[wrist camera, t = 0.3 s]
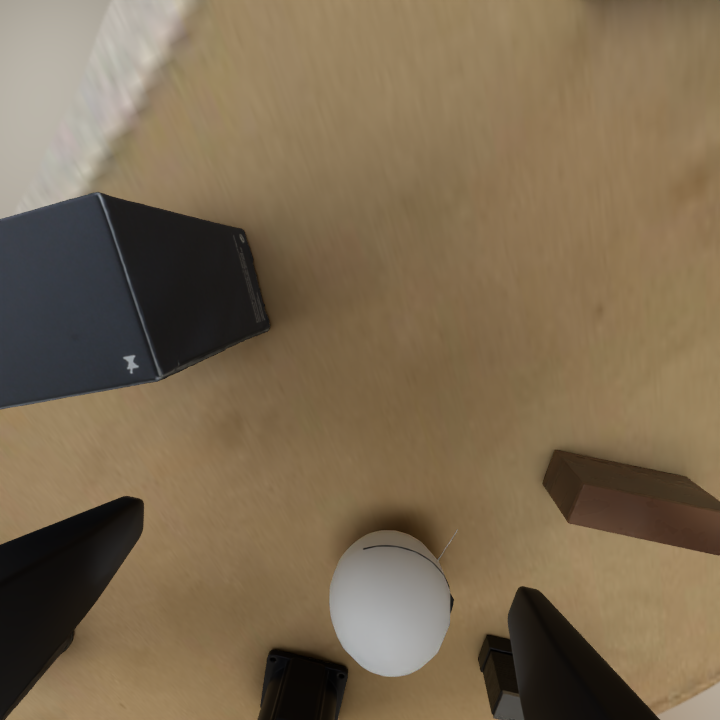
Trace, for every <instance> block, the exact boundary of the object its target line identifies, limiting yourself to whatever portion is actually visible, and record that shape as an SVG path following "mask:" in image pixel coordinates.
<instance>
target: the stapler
mask: <svg viewBox="0 0 720 720" xmlns="http://www.w3.org/2000/svg"><path fill="white" fill-rule="evenodd" d="M478 661H479V666H480V670H481V672H483V675H484V680H485V684H486V689H487V694H488V698H489V703H490V708H491V713H492V714H493V718H495V719H499V720H524V716H523V711H522V707H521V701H520V696H519V690H518V684H517V678H516V671H515V665H514V659H513V653H512V646H511V640H508V639H504V638H499V637H495V636H491V635H487V636H486V638H485V641H484V644H483V646H482V649H481V652H480V654H479V657H478Z"/></svg>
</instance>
